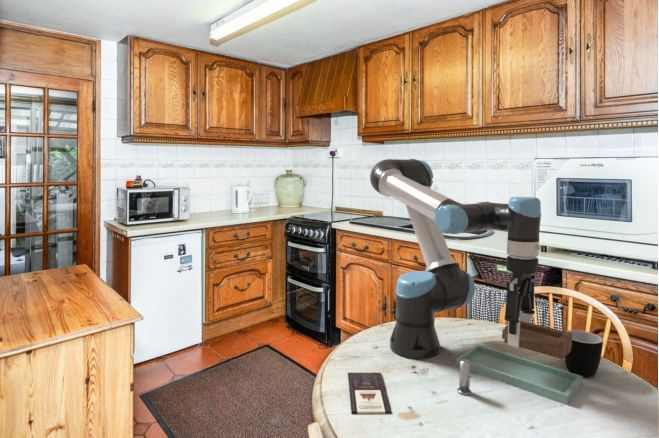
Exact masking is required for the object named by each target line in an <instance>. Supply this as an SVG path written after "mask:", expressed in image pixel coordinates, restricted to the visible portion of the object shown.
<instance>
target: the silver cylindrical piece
mask: <svg viewBox="0 0 659 438" xmlns="http://www.w3.org/2000/svg"><path fill="white" fill-rule="evenodd" d="M470 380H471V371H470V361H469V360H467V359H461V360H460V367H459V383H458V385H459V386H458V388H457V393H458V394H459V395H461V396H470V395H471V394H472V391H471V389H470V386H471V385H470V382H471V381H470Z"/></svg>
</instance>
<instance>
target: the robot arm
mask: <svg viewBox="0 0 659 438" xmlns="http://www.w3.org/2000/svg"><path fill="white" fill-rule="evenodd" d="M433 179H434V174H433V170H432V168H431V166H430V165H429V164H428V163H427V162H426V161H425V160H423V159H417V158H409V159H404V158H403V159H398V158H396V159H394V158H393V159H392V158H386V159H383V160H381V161H379V162H377V163H376V164H375V165H374V166H373V167H372V169H371V171H370V176H369V180H370V184H371V186H372V189H374V191H376V192H377V193H378V194H380V195H382V196H384V197H387V198H391V197H392V198H394V199H395V200H397V201H399V202H401V203H402V204H404V205H405V207H406V209H407V213H408V215H409V219H410V221H411V225H412V228H413V231H414V233H415V234H414V235H415V237H416V239H417V243H418V245H419V248H420V251H421V254H422V258H423V260H424V262H425V266H426V268H425V270H418V271H416V270H413V271H412V270H411V271H408V272H405V273H403V274H401V275H399V277H398V278H397V281H396V289H395V293H396V294H395V295H396V296H395V299H396V300H395V301H396V305H395V306H396V307H395V323H394V328H393V329H392V333H391V335H390V339H389V348H390V350H391V351H392V352H394V353H395V354H397V355H399V356H401V357H404V358H409V359H428V358H432V357H435V356H437V355H439V353H440V351H441V350H440V349H441V348H440V347H441V343H440V340H439V336H438V334H437V330H436V327H435V316H436V315H435V314H436V313H441V312H444V311H445V312H446V311H449V310H458V309H460V308H462V307H465V306H468V305H469V304H470V303H471V302H472V301H473V299H474V296H475V292H476V287H475V281H474V278H473V276H472V275H471V274H470V273H468V272H467V271H466V270H464V269H462V268H461V266H460V263H459V261H456V260H454V259H453V257H452V255H451V253H450V249H449V247H448V244H447V242H446V238H445V236H444V235H445V234H446V235H449V234H451V235H456V234H457V235H458V234H463V233H472V232H482V231H501V232H507V238H506V241H507V243H506V254H507V255H508V256H506V265H505V266H506V270H507V271H509V272H511V273H512V277H511V279H510V282H509V281H507V282H506V300H505V310H504V321H507V323H508V324H507V325H508V343H507V345H509V346H513V347H517V348H520V347H519V338H520V322H519V321H523V322H527V323H531V322H532V321H531V320H532V319H531V318H532V315H535V312H536V311H535V283H536V282H535V281H536V273H538V271H539V262H540V261H539V258H538V256H539V253H540V252H539V251H540V250H541V248H542V246H541V245H540V229H541V220H542V213H541V211H542V207H541V204H542V203H541V200H540V199H539V198H538V197H535V196H512V197H510V198H509V200H508V203H501V202H498V203H497V202H491V201H479V202H478V201H477V202H475V203H464V204H463V203H460V202H458V201H456V200H454V199H452V198H450V197H448V196H446V195H443V194H442V193H439V192H437V191H435V190H434V189H432V185H433V182H434V180H433ZM531 314H532V315H531ZM531 324H532V323H531Z"/></svg>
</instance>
